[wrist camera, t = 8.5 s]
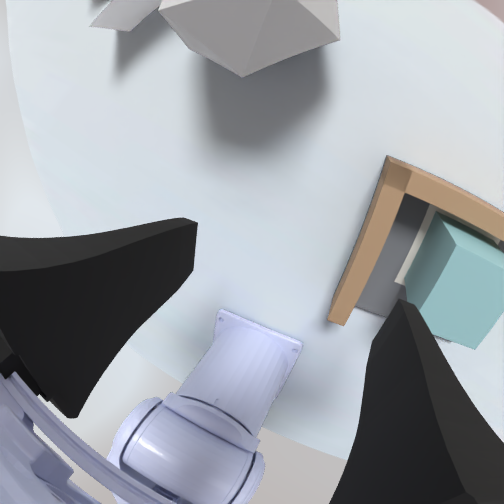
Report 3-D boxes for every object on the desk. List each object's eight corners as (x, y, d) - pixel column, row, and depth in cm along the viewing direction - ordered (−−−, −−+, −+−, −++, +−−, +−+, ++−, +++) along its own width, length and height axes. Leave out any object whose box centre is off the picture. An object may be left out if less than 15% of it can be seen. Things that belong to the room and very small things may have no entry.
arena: (453, 339, 18) (458, 365, 15) (333, 294, 20) (327, 319, 18) (521, 223, 12) (540, 242, 10) (386, 155, 15) (390, 161, 12)
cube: (494, 240, 13) (523, 280, 9) (460, 300, 16) (474, 349, 12) (435, 210, 15) (456, 244, 10) (404, 277, 17) (409, 325, 13)
